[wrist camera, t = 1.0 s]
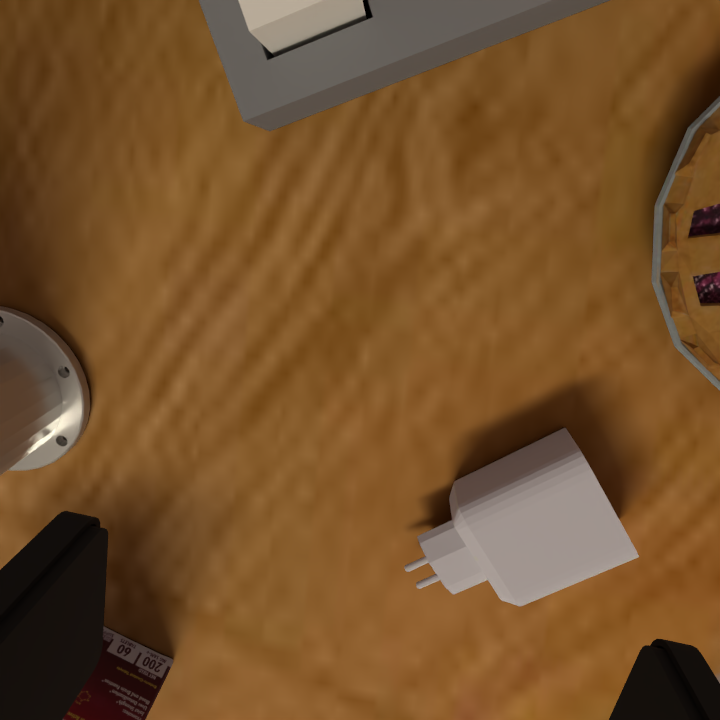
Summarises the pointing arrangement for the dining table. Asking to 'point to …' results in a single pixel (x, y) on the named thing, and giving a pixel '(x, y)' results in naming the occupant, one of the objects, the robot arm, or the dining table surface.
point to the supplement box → (121, 682)
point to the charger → (527, 525)
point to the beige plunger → (298, 20)
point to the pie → (692, 245)
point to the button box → (364, 50)
